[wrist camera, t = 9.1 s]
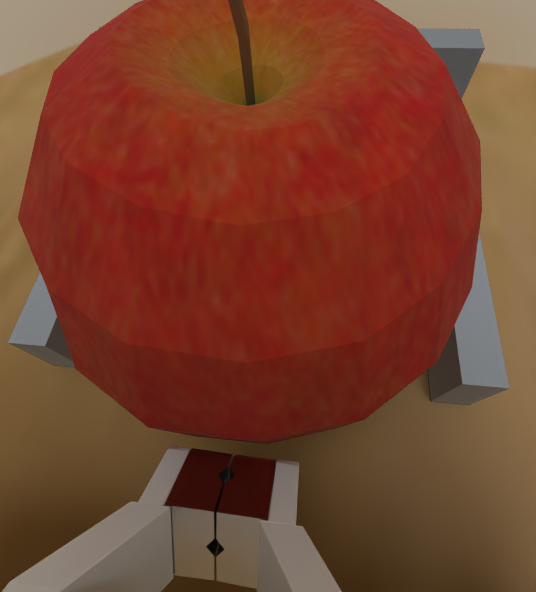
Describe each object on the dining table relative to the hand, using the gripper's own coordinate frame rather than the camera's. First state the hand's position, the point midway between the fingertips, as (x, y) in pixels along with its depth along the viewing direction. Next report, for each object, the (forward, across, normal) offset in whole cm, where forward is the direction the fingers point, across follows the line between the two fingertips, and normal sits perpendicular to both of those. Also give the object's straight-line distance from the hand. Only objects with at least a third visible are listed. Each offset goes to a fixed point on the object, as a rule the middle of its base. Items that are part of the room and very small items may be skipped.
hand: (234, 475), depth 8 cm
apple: (+8, 0, 0) cm, 8 cm away
